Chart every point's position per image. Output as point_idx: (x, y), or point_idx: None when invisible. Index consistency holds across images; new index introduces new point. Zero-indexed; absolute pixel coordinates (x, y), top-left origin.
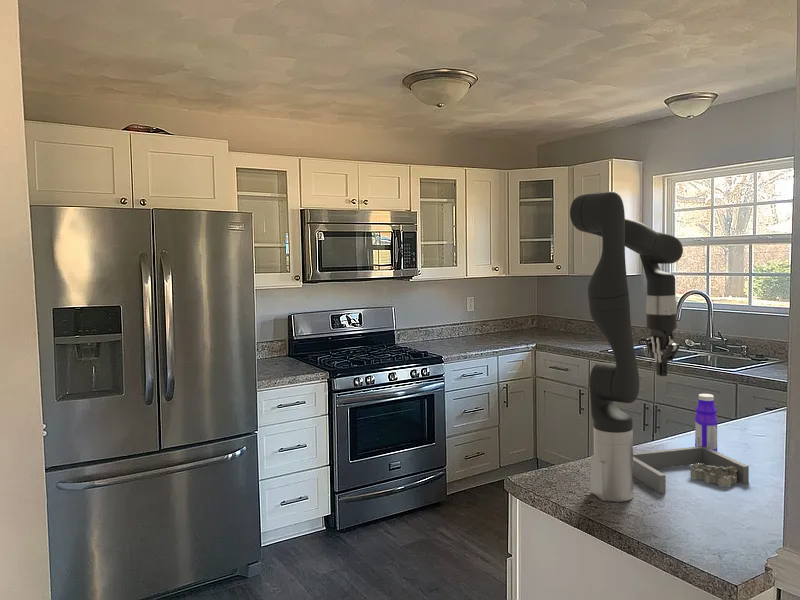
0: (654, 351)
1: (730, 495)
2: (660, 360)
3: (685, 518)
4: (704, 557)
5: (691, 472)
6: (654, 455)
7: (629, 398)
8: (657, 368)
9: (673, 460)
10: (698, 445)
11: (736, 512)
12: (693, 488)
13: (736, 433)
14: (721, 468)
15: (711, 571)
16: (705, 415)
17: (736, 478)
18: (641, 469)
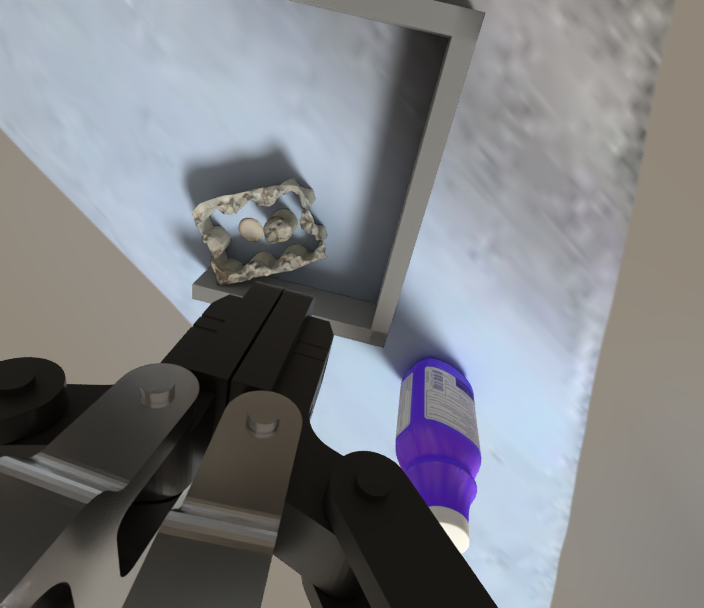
0: (184, 535)
1: (155, 163)
2: (127, 384)
3: None
4: None
5: (304, 192)
6: (419, 152)
7: None
8: (276, 330)
9: (399, 221)
10: (438, 371)
11: (47, 69)
12: (228, 111)
13: (492, 530)
14: (260, 265)
15: None
16: (419, 454)
17: (222, 260)
18: None
